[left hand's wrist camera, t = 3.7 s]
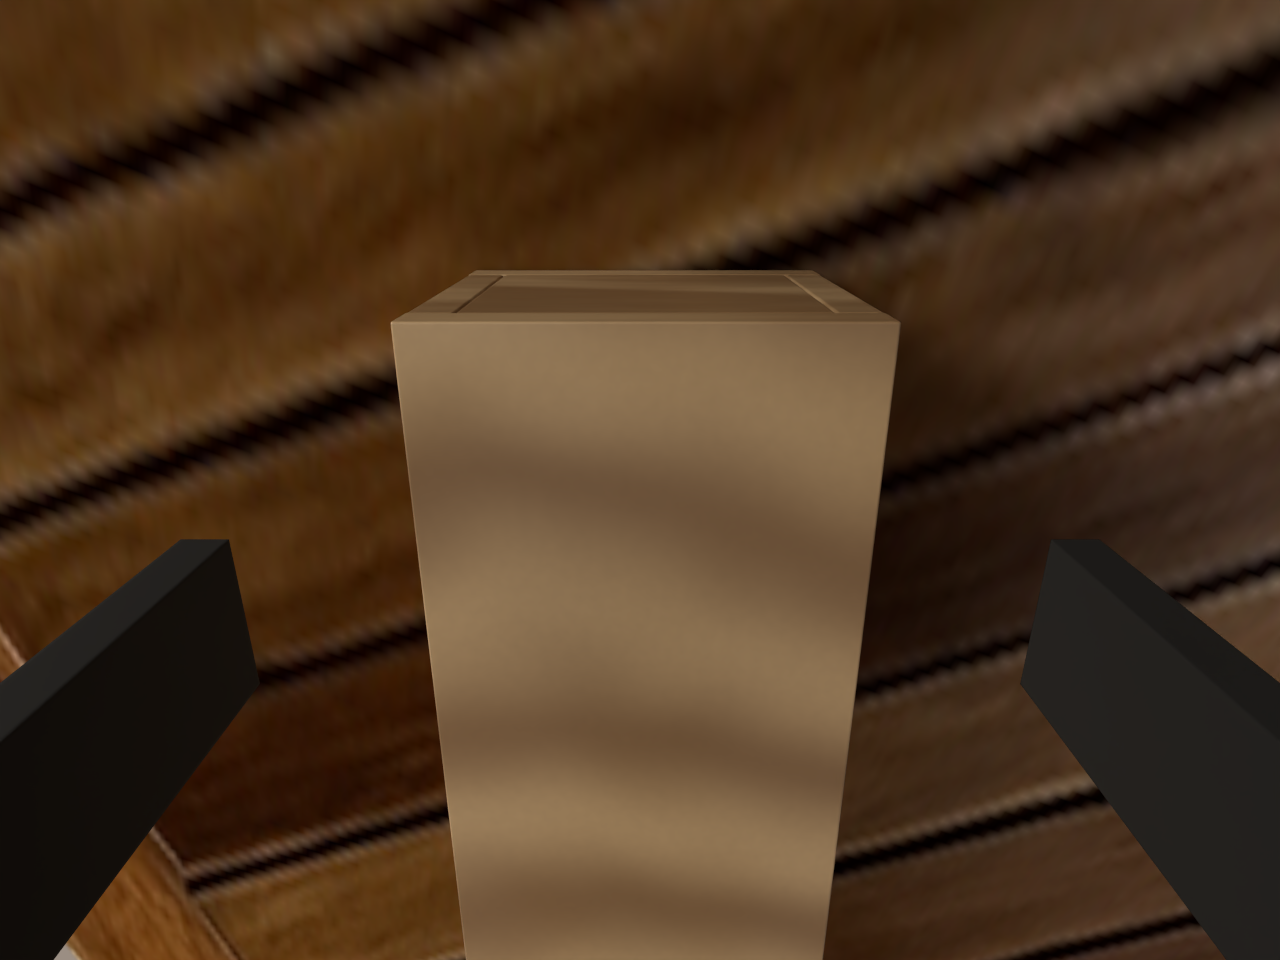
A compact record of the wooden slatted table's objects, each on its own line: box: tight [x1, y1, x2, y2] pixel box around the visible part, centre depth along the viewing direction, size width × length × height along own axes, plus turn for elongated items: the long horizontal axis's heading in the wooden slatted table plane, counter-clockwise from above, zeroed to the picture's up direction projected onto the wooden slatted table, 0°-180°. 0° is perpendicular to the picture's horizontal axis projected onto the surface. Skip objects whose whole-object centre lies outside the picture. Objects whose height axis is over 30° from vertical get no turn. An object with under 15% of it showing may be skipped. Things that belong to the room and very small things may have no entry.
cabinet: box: [391, 270, 901, 960], centre depth 23 cm, size 22×10×9 cm, turn 0°
